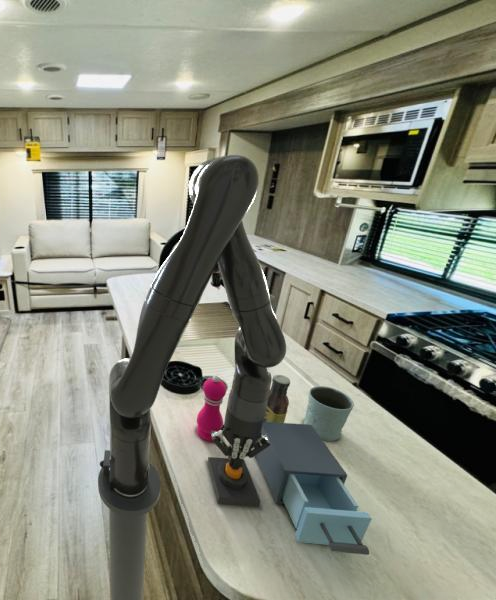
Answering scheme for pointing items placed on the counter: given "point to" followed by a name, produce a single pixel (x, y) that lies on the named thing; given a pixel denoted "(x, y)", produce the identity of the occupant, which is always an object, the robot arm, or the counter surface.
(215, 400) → the pepper mill
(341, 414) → the embossed plant pot
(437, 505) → the counter surface
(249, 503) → the block
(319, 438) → the grey drawer cabinet
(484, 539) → the counter surface
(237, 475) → the button
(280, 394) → the sauce bottle
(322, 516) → the light blue drawer
